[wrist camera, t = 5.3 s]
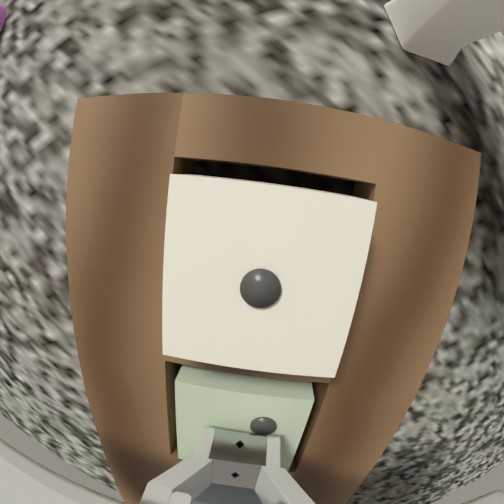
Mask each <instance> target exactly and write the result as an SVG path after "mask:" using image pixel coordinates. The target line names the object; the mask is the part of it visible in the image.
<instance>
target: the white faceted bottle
mask: <svg viewBox="0 0 504 504" xmlns="http://www.w3.org/2000/svg"><path fill="white" fill-rule="evenodd" d="M384 7H385V10H386V12H387V14H388V16H389V19H390V21H391V23H392V25H393V28H394V30H395V32H396V35H397V37H398V40H399V42H400V45H401V47H402V48H403V49H404V50H405V51H407V52H410V53H413V54H416V55H419V56H422V57H425V58H428V59H431V60H434V61H436V62H439V63H442V64H444V65H447V66H449V65H451V63H452V62H453V60H454V59H455V57H456V56H457V55H458V53H459V52H460V50H461V49H462V47H463V46H466V45H468V44H470V43H473V42H475V41H477V40H480V39H482V38H484V37H487V36H489V35H492V34H494V33H497V32H499V31H502V30H504V0H392V1H390V2H388V3H386V4H385V6H384Z"/></svg>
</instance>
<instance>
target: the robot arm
mask: <svg viewBox="0 0 504 504" xmlns="http://www.w3.org/2000/svg"><path fill="white" fill-rule="evenodd" d="M211 483H214V484H221V485H229V486H236V487H243V488H250V489H255V492H256V493H257V495H258V497H259V498H260V500H261V501H262V503H263V504H315V503H314V502H313V500H312V499H311V498H310V497H309V496H308V495H307V494H306V493H305V491H304V490H303V489H302V488H301V487H300V486H299V485H298V483H297V482H296V481H295V480H294V479H293V478H292V476H291V475H290V474H289V473H288V472H287V470H286V469H285V468H281V438H280V436H271V435H262V434H252V433H244V432H235V431H229V430H224V429H218V428H212V427H207V426H203V427H202V429H201V433H200V436H199V440H198V443H197V447H196V450H195V454H194V456H193V455H190V456H188V457H187V458H185V459H184V460H182V461H181V462H179V463H178V464H176V465H175V466H173V467H172V468H170V469H169V470H167V471H165V472H164V473H162V474H161V475H159V476H158V477H156V478H154V479H153V480H151V481H149V482H148V483H147V486H146V488H145V491H144V493H143V496H142V498H141V501H140V503H139V504H192V501H193V500H194V499H195V498H196V497H197V496H198V495H200V494H201V493H202V492H203V491H204V490H205V489H206V488H207V487H209V486H210V485H211ZM0 504H127V503H124V502H121V501H119V500H116V499H113V498H111V497H108V496H105V495H103V494H101V493H98V492H96V491H94V490H91V489H89V488H87V487H84V486H82V485H80V484H78V483H76V482H74V481H71V480H69V479H67V478H65V477H63V476H61V475H59V474H57V473H56V472H54V471H52V470H50V469H48V468H46V467H44V466H43V465H41V464H39V463H38V462H36V461H34V460H33V459H31V458H29V457H28V456H26V455H24V454H23V453H21V452H20V451H18V450H17V449H15V448H14V447H12V446H11V445H9V444H8V443H6V442H5V441H3V440H2V439H0ZM462 504H504V492H503V491H501V490H496V491H492V492H490V493H488V494H485V495H483V496H480V497H478V498H476V499H473V500H470V501H468V502H465V503H462Z"/></svg>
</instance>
